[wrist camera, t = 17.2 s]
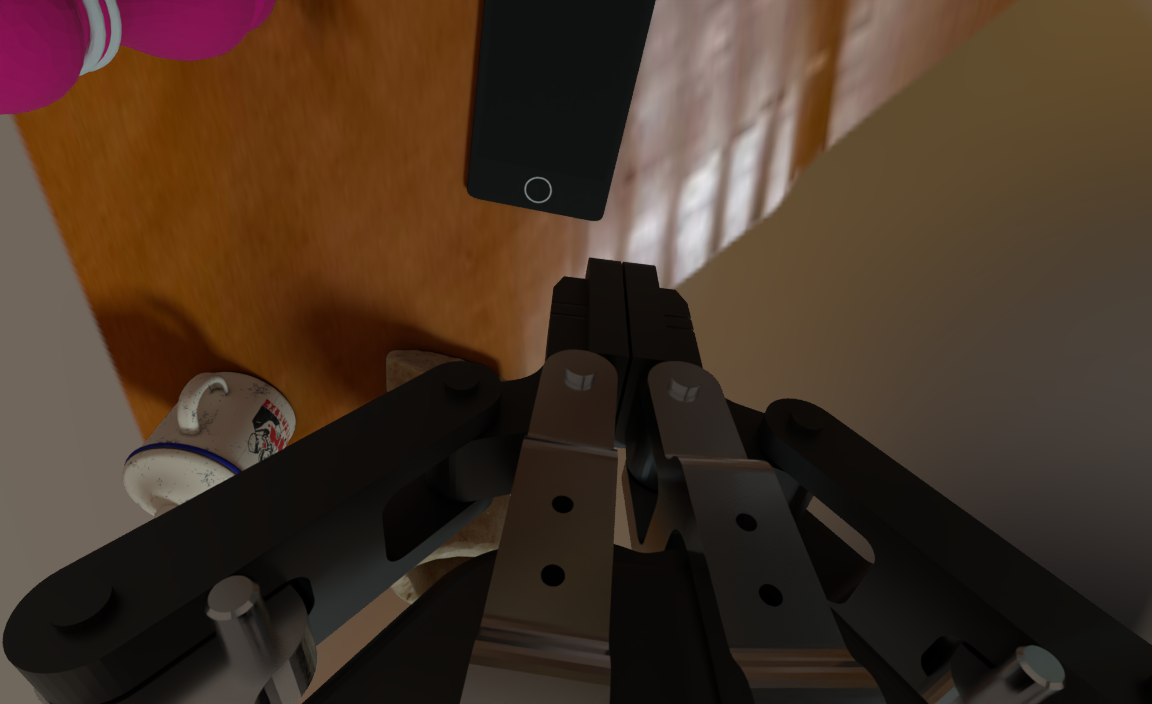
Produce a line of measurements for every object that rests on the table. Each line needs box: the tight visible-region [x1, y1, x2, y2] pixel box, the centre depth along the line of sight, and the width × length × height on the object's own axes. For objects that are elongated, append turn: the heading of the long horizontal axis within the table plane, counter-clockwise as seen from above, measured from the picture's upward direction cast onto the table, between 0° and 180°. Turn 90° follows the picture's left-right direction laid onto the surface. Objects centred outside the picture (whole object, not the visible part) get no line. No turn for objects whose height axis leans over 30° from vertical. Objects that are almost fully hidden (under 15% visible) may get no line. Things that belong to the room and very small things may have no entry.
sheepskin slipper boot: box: [386, 350, 510, 604], centre depth 45 cm, size 15×12×15 cm
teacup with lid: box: [123, 372, 295, 518], centre depth 45 cm, size 12×9×12 cm
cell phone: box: [467, 0, 656, 221], centre depth 34 cm, size 9×18×1 cm, turn 169°
